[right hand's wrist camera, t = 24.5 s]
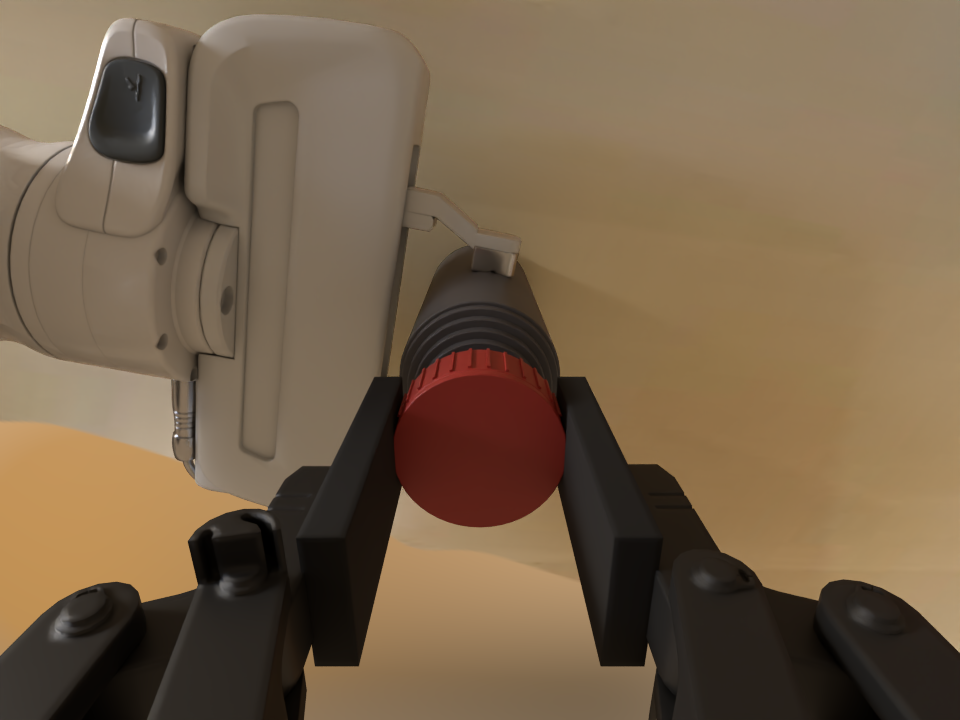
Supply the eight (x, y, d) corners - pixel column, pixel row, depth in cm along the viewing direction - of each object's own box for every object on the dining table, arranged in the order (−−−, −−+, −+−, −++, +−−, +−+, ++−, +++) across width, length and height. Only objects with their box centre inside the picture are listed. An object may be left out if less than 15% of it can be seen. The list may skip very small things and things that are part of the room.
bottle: (416, 317, 29) (347, 487, 14) (454, 227, 28) (422, 309, 12) (503, 353, 30) (527, 552, 15) (545, 268, 28) (621, 394, 13)
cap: (394, 347, 14) (383, 372, 12) (563, 346, 14) (575, 371, 12) (404, 490, 15) (395, 529, 14) (556, 489, 15) (565, 529, 14)
